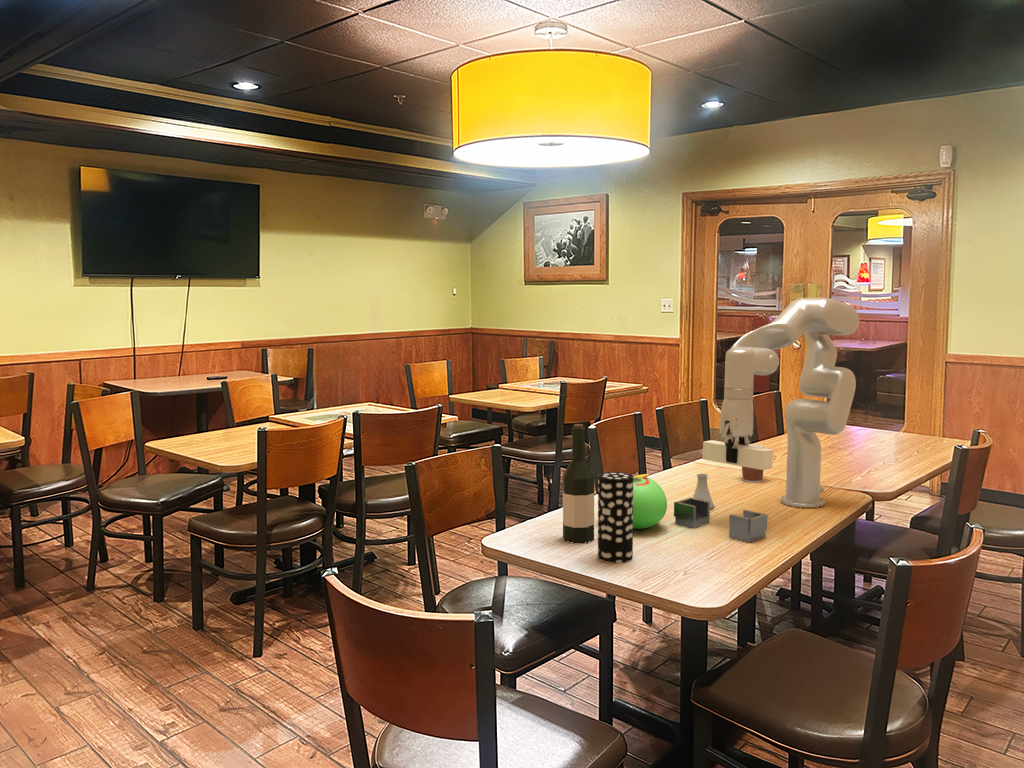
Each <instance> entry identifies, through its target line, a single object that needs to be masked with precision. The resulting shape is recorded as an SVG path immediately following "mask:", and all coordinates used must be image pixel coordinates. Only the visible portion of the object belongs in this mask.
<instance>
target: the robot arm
mask: <svg viewBox="0 0 1024 768" xmlns="http://www.w3.org/2000/svg"><path fill="white" fill-rule="evenodd" d="M859 325H860V316H859V314H858V312H857V310H856V309H855V308H854V307H853V306H852V305H848V304H847V303H844V302H841V301H839V300H836V299H833V298H829V297H802V298H796V299H793V301H791V302H790V303H789V304H788V305H787V306H786V307H785V308H784V309H783V310H782V311H781V312H780V314H778V316H777V317H775V319H773V320H772V322H770V323H768V324H765V325H762V326H759V327H758V328H756V329H754V330H752V331H749V332H747V333H746V334H744V335H743V336H741V337H740V338H738V339H737V341H736V342H735V343H733V345H732V346H731V347H730V348H729V349H727V351H726V352H725V360H724V361H725V366H724V389H723V390H724V391H723V393H724V394H723V396H724V397H723V401H722V404H721V410H720V419H719V431H718V432H719V435H720V439H721V441H722V442H724V443H725V447H726V462H730V463H737V453H738V449H736V445H737V444H739V445H746V446H748V445H749V444H750V439H751V437H752V436H753V435H754V431H753V430H754V418H755V417H754V402H753V401H754V384H755V383H754V382H755V381H754V379H755V377H754V375H756V376H769V375H772V374H773V373H774V372H776V371H777V369H778V368H779V365H780V358H779V354H778V353H777V352H776V350H781V349H784V348H788V347H790V346H793V345H794V344H795V343H796V341H797V340H799V338H800V337H801V336H802V335H804V337H805V341H806V345H807V347H806V348H807V351H806V354H805V355H806V356H805V360H804V363H803V366H802V370H801V373H800V377H799V380H798V381H799V383H798V388H799V391H800V392H801V394H803V395H804V396H806V397H807V396H808V397H815V398H822V399H829V400H828V401H827V400H819V399H809V398H797V399H792V400H791V401H790V402H789V403H788V404H787V405H786V407H785V409H784V420H785V426H786V433H787V451H786V480H785V481H786V482H785V483H786V486H785V488H786V489H785V494H784V495H782V496H780V503H783V504H784V505H786V506H789V505H790V507H794V506H795V507H794V508H802V507H805V508H806V509H807V507H809V508H808V509H811V508H810V507H816V508H820V507H819V506H821V507H823V505H824V504H825V503H826V501H825V499H824V498H822V497H821V496H820V494H821V493H824V492H825V487H824V486H823V485H821V468H822V467H821V465H822V445H821V442H820V439H819V437H818V435H817V434H825V435H839V434H840V433H842V432H843V431H844V430H845V427H846V425H847V422H848V420H849V419H848V418H849V415H850V412H851V407H852V404H853V400H854V397H855V392H856V389H857V388H856V387H857V383H856V382H857V380H856V376H855V374H854V372H853V371H852V370H851V369H849V368H847V367H841V366H836V362H837V357H838V351H837V347H836V346H835V343H834V342H833V341H832V339H831V337H830V336H849V335H852V334H854V333H855V332H856V331H857V329H859V328H858V327H859ZM816 433H817V434H816ZM825 505H826V504H825ZM825 505H824V506H825ZM805 508H804V509H805Z"/></svg>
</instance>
